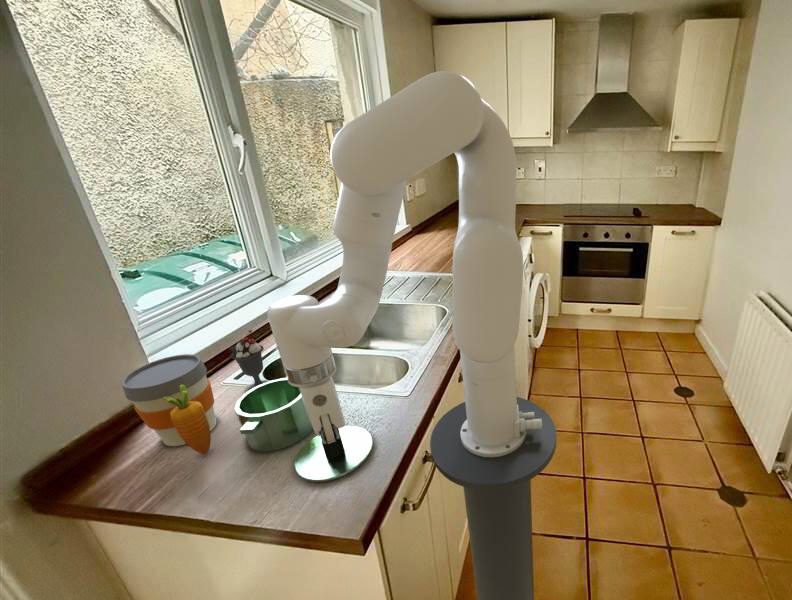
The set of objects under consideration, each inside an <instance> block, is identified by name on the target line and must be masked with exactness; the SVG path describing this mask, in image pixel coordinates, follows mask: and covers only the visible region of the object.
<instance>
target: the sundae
mask: <svg viewBox="0 0 792 600" xmlns="http://www.w3.org/2000/svg"><path fill="white" fill-rule="evenodd" d="M252 332H253V330H251V329H250V330H248V332H247V334H246V336H245V337H243V338H242V339H241V340H240V341H239V342H238V343H237V344H236V345H235V346H229V347H228V349H229V350H230V352H232V353H231V354H230V355H229V358H231V359H233V360H235V361H236V363H237V365H238V366H239V368H240V369H241V371H242V372H243V374H244V375H246V376H247V377H252V378H253V381H254V383H253V384H252V385H250V386H249V387H248V389H247V392H248V391H249V390H251V389H253V388H254V387H256V386H259V385H261V384H264V383H266V382H269V381H270V380H269V381H268V380H261V378H260V374H261V373H262V372H263V371H264V361H263V357H262V352H264V350H265V347H264V346H263V345H262V344H259V342H258V343H257V342H255V339H253V338H251V333H252Z"/></svg>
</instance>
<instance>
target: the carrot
mask: <svg viewBox="0 0 792 600" xmlns="http://www.w3.org/2000/svg"><path fill="white" fill-rule="evenodd" d="M179 388H180V392H181V400H180V399H179V398H176V400H177V401H176V400H175V399H173V398H170V397H164V398H163V399H164V400H167V402H169V403H172V404H173V405H175V406H177V407H175V408H174V409H173V410H172V411H171V412H170V415H171V420H172V422H173V424H174V426H175V428H176V430H177V432H178V433H179V435H180V437H181V438H182V439H183V440H184V442H185V443H186V444H185V445H187V446H188V447H189V448H190V449H192V450H193V451H195V452H197V453H199V454H201V455H207V454H208V452H209V451H210V447H211V442H212V436H211V435H212V434H211V431H210V428H209V424H208V420H207V418H206V415H205V412H204V409H203V407H202V404H201V403H200V402H198V401H188V392H187V389H186V386H185V385H180V386H179Z"/></svg>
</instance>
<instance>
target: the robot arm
mask: <svg viewBox="0 0 792 600" xmlns="http://www.w3.org/2000/svg"><path fill="white" fill-rule="evenodd" d="M453 154H454V155H455V157H456V161H457V167H458V226H457V233H456V235H455V240H454V245H453V249H452V250H453V252H452V338H453V340H454V343H455V345H456V347H457V349H458V350H459V354H460V365H461V375H462V376H461V377H462V385H463V394H464V395H463V396H464V402H465V404H466V414H467V420H466V421H465V422H464V424H463V425H462V428H461V433H460V435H461V441H462V444H463V445H464V447H465V448H466V449H467V450H468V451H469V452H471V453H473V454H475V455H478V456H482V457H500V456H504V455H507V454H509V453H511V452H513V451H514V450H516V449H517V448H518V447H519V446H521V444H522V443H523V441H524V439H525V437H526V430H528V429H533V430H540V429H542V420H541V419H535V417H534V412H528V413H522V412H519V407H518V404H517V397H518V396H517V378H516V376H517V375H516V350H515V349H516V348H515V344H516V342H517V339H518V335H519V331H520V320H521V310H522V309H521V308H522V294H523V282H524V255H523V249H522V246H521V242H520V241H519V238H518V235H517V232H516V211H517V210H516V209H517V208H516V207H517V156H516V150H515V147H514V143H513V140H512V137H511V134H510V132H509V130H508V128H507V126H506V124H505V123H504V121H503V120H502V118H501V116H500V115H499V113H498V112H497V111H496V110H495V109H494V108H493V107H492V105H490V104H489V103H487V101H485V100H484V99H483V98H482V97H481V95H480V93H479V90H478V88H477V87H476V86H475V85H474V84H473V82H472V81H471V80H469V79H468V78H467V77H465V76H464V75H463V74H460V73H458V72H456V71H451V70H439V71H434V72H431V73H428V74H426V75H424V76H422V77H421V78H419V79H416V81H414V82H411V84H409V85H407V86H406V87H404V88H402V89H401V90H399V91H397V92H396V93H395V94H393V95H391V96H390V97H388V98H387V99H385V100H383V101H382V102H380V103H379V104H377V105H375V106H374V107H372V108H371V109H369V110H368V111H366V112H363V113H362V114H361V115H359V116H357V117H355V118H354V119H352V120H351V121H349V122H348V123H346V124H345V125H344V126H342V127H341V128H340V130H339V131H337V133H336V134H335V136H334V137H333V140H332V143H331V146H330V153H329V156H330V164H331V167H332V170H333V172H334V174H335V176H336V177H337V179H338V180H339V182H340V188H339V194H338V199H337V203H336V210H335V214H334V219H333V224H332V231H333V234H334V236H335V237H336V238H337V240H338V241H339V242H340V244H341V246H342V251H343V252H342V264H341V271H340V275H339V280H338V284H337V288H336V291H334V293H332V295H331V296H330V297H329V298H328V299H327V300H325V301H323V302H322V303H320V302H319V301H318V299H317V298H315V297H314V296H312V295H309V294H297V295H290V296H287V297H286V296H285V297H283V298H280V299H278V300H276V301H274V302H273V303H272V304H270V305H269V307H268V308H267V311H266V313H267V314H266V315H267V319H268V323H269V326H270V329H271V331H272V334H273V338H274V341H275V344H276V348H277V350H278V353H279V357H280V360H281V363H282V366H283V370H284V374H285V376H286V377H287V379H288V382H289V384H290V385H292V386H294V387H299V390H300V393H301V396H302V399H303V402H304V405H305V408H306V411H307V414H308V416H309V419H310V422H311V424H312V427H313V432H314V434H315V435H316V436H321V439H322V445H323V449H324V452H325V455H326V459H327V460H329V459H332V458H334V457H337V456H339V455H342V454H344V453H345V450H344V446H343V443H342V439H341V435H340V432H339V429H340V428H343V427H344V426H346V421H345V418H344V414H343V411H342V406H341V402H340V399H339V395H338V391H337V387H336V384H335V381H334V379H333V376H334V375H335V373H336V371H337V366H336V362H335V358H334V353H333V351H332V348H335V349H345V348H349V347H353V346H354V345H356V344H357V343H358V342H359V341H361V340H362V338H363V336H364V335H365V333H366V331H367V329H368V327H369V326H370V323H371V321H372V320H373V319H374V316H375V315H376V313H377V311H378V309H379V308H378V307H379V305H380V301H381V298H382V294H383V290H384V286H385V281H386V278H387V274H388V268H389V262H390V257H391V254H392V248H393V247H392V246H393V242H394V237H395V233H396V229H397V224H398V220H399V216H400V213H401V207H402V203H403V200H404V197H405V192H406V188H407V184H408V181H409V180H410V179H411V178H413V177H414V176H416V175H418V174H420V173H422V172H423V171H425V170H427V169H429V168H430V167H432V166H433V165H435V164H437V163H439V162H440V161H443V160H444V159H445V158H447V157H449V156H451V155H453ZM525 419H528V420H525ZM530 419H532V420H530ZM333 429H334V431H335V432H333ZM324 433H325V435H324Z"/></svg>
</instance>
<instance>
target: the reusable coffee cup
mask: <svg viewBox="0 0 792 600" xmlns="http://www.w3.org/2000/svg"><path fill="white" fill-rule="evenodd" d="M207 373H208V369H207V367H206V366H205V363H204V362H203V360H202V359H201V357H200V356H199V355H197V354H191V353H185V354H177V355H171V356H167V357H163V358H159V359H156V360H154V361H151V362H148V363H145V364H143V365H141V366H139V367H137V368H135V369H133V370H132V371H131V372H129V373H128V374H127V375H125V376H123V379H121V386H122V389H123V392H124V395H125V398H126V399H127V400H128V401H130V402H132V404H133V405H134V411H135V412H136V413H137V415H138V416H139V417H140V419H141V420H142V421H143V422H144V424H145V425H146V426H147V427H148V428H149V429H151V430H153V431H154V432H155V433H156V435H157V436H158V437H159V438H160V439H161V441H162V442H163V443H164V445H166V446H168V447H179V446H183V445H187V444H186V443H185V442H184V440H183V439H182V438H181V437H180V435H179V433H178V432H177V430H176V428H175V426H174V424H173V422H172V420H171V415H170V412H171V411H172V410H173V409H174V408H175V407H177V406H175V405H173V404H172V403H169V402H167V400H164V399H163V398H164V397H170V398H173V399H175V400H176V398H179V399H180V400H181V392H180V388H179V386H180V385H185V386H186V389H187V392H188V401H198V402H200V403H201V404H202V407H203V409H204V412H205V415H206V418H207V420H208V424H209V428H210V432H211V431H212V430H214V428H215V427H216V426H217V418H216V413H215V409H214V403H215V398H214V393H213V389H212V384H211V381H210V379H209V378H208V377H207ZM176 401H177V400H176Z"/></svg>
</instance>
